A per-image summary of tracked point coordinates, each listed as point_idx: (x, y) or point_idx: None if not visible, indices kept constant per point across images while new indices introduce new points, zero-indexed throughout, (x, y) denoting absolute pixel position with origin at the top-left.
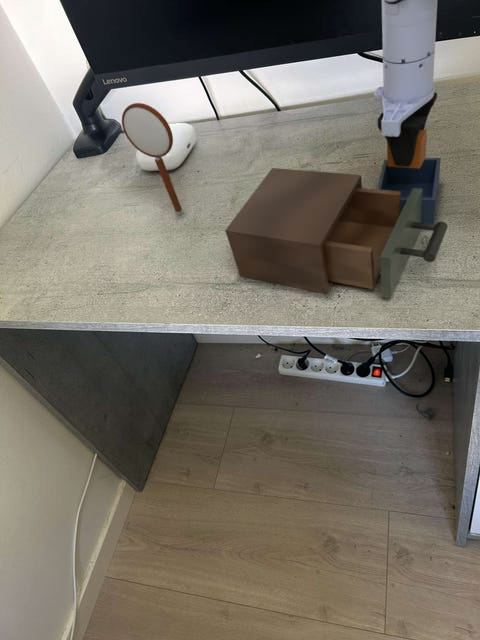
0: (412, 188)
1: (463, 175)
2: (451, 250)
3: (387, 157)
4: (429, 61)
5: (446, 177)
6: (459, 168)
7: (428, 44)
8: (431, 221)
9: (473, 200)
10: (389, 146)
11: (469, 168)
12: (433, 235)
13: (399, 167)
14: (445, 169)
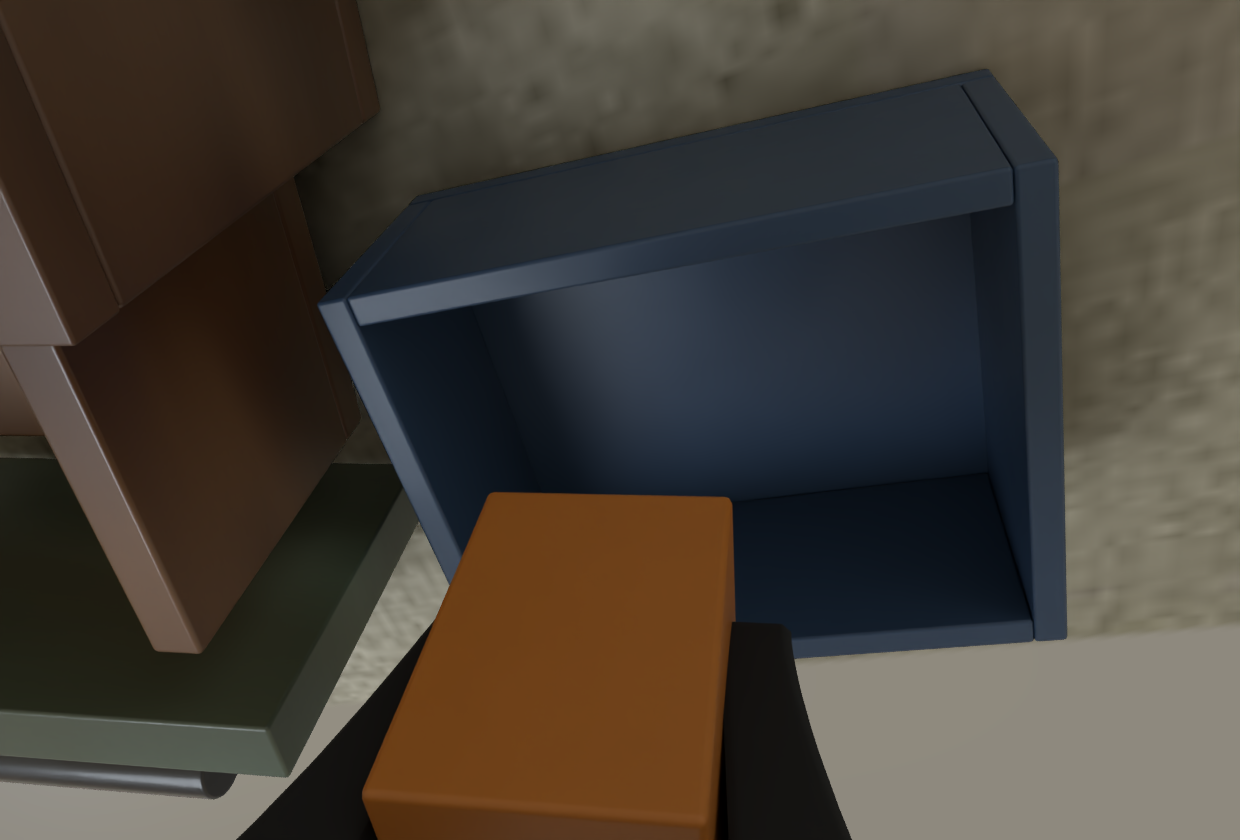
0: (900, 342)
1: (1123, 584)
2: (394, 622)
3: (454, 575)
4: None
5: (1102, 499)
6: (1225, 552)
7: None
8: None
9: (836, 656)
10: (265, 812)
11: (1216, 603)
12: (84, 767)
13: (1004, 297)
14: (1223, 476)
